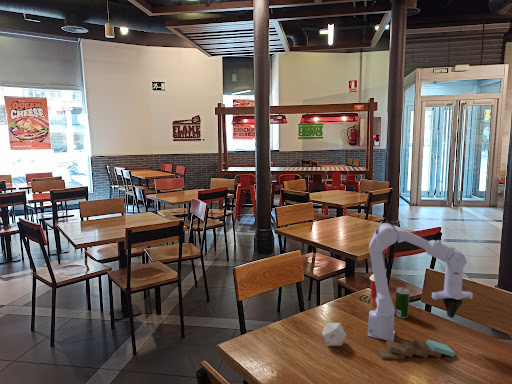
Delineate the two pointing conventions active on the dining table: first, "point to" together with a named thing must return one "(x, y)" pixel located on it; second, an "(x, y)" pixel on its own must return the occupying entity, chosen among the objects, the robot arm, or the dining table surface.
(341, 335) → the die
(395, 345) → the domino
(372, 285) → the paper cup
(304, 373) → the dining table surface
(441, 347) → the domino
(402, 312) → the beer can
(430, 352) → the domino
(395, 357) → the domino
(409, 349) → the domino
